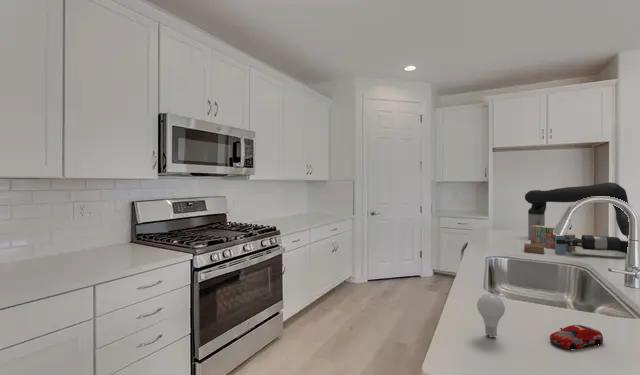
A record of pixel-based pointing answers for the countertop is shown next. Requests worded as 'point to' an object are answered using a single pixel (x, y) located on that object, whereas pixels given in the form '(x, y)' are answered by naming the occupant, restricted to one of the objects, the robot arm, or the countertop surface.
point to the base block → (534, 248)
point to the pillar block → (560, 245)
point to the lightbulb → (491, 312)
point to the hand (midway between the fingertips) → (555, 240)
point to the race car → (576, 337)
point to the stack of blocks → (546, 237)
